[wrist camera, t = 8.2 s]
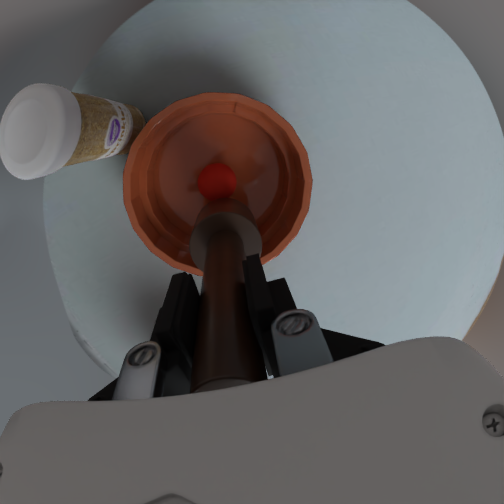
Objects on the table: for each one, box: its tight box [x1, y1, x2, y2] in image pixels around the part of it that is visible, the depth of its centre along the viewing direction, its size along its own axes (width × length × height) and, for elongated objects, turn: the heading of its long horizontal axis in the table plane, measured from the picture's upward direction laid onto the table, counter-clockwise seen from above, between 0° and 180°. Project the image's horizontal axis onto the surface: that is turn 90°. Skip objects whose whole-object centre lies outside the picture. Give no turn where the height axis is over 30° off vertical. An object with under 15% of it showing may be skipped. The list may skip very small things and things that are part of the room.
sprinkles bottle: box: [0, 83, 146, 180], centre depth 14 cm, size 5×5×13 cm
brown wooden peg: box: [189, 198, 268, 394], centre depth 14 cm, size 4×4×15 cm
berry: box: [198, 163, 237, 201], centre depth 21 cm, size 3×3×3 cm
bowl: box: [123, 92, 313, 276], centre depth 21 cm, size 13×13×5 cm
